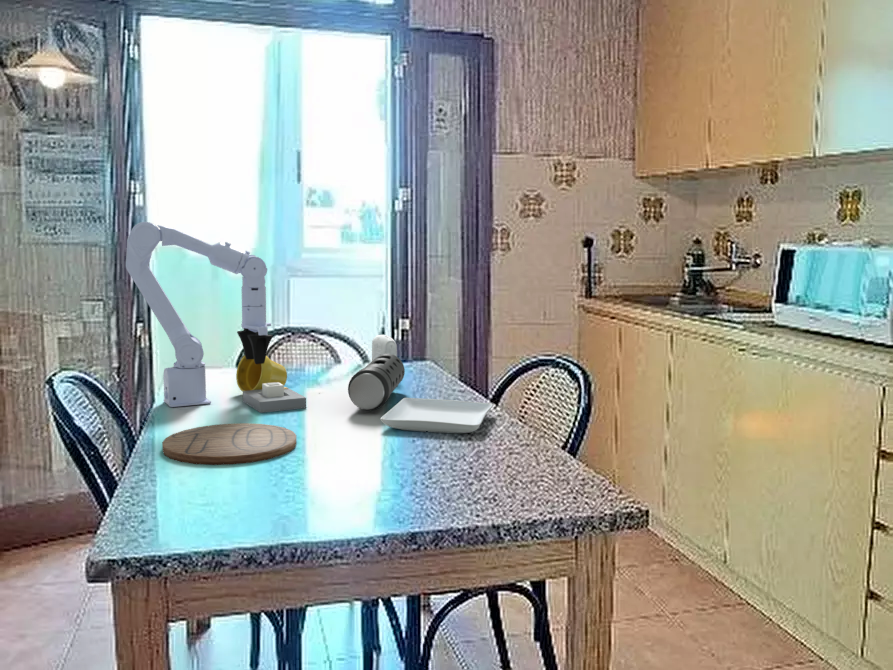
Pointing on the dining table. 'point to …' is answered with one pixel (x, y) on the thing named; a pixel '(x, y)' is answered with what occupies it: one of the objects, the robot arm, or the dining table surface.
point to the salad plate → (436, 415)
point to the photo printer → (383, 346)
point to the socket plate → (274, 401)
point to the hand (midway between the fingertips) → (255, 361)
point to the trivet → (229, 444)
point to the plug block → (272, 389)
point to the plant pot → (259, 374)
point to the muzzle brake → (376, 382)
